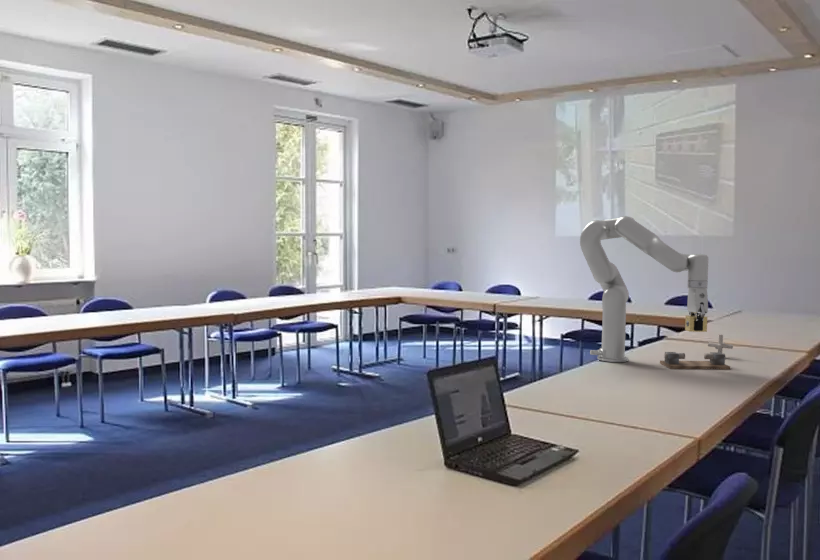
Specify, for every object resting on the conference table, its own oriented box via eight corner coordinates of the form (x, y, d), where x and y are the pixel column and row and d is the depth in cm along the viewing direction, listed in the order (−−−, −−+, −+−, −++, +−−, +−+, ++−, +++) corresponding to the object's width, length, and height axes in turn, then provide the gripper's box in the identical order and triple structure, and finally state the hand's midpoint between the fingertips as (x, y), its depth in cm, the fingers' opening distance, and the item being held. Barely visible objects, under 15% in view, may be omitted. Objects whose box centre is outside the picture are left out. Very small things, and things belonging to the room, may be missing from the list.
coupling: (702, 330, 303) (702, 315, 302) (706, 331, 298) (707, 316, 298) (685, 330, 303) (685, 315, 302) (689, 331, 298) (689, 316, 298)
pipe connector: (728, 359, 318) (729, 336, 317) (704, 357, 324) (705, 334, 323) (734, 356, 326) (735, 334, 325) (711, 354, 332) (712, 332, 331)
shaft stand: (670, 368, 295) (670, 355, 295) (659, 363, 307) (660, 350, 307) (730, 369, 296) (730, 356, 295) (717, 363, 308) (717, 351, 307)
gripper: (715, 286, 291) (714, 332, 292) (698, 283, 308) (696, 327, 309) (696, 286, 291) (695, 332, 292) (680, 283, 308) (678, 327, 309)
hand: (695, 329), depth 301 cm, fingers closed on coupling, 4 cm apart
